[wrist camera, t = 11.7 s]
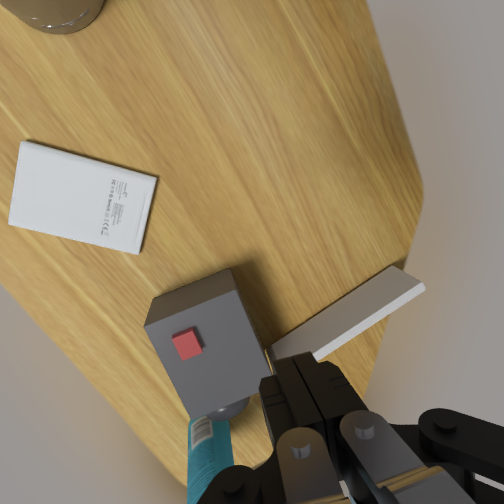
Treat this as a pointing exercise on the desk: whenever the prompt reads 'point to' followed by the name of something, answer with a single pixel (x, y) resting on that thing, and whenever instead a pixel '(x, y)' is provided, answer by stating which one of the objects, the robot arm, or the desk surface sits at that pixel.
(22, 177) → the external hard drive
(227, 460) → the tube
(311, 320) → the door
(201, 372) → the camera body
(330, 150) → the desk surface
